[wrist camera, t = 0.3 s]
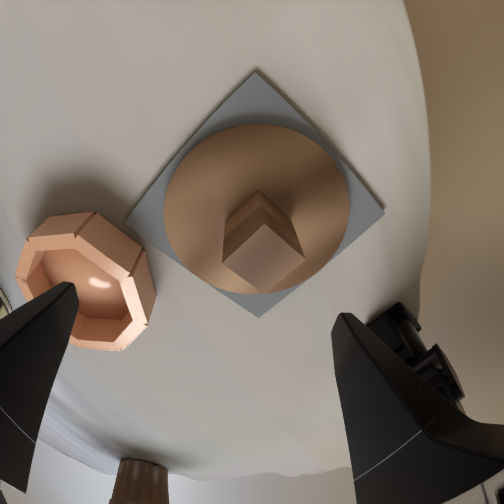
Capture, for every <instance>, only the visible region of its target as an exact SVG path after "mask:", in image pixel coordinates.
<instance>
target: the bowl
mask: <svg viewBox="0 0 504 504" xmlns="http://www.w3.org/2000/svg"><path fill="white" fill-rule="evenodd" d="M141 249H142V246H141V245H139V244H138V243H137V242H135V241H134V240H132V239H131V238H130V237H128V236H127V235H126V234H124V233H123V232H122V231H120V230H119V229H118V228H116V227H115V226H114V225H112V224H111V223H110V222H109V221H107V220H106V219H105V218H103V217H102V216H101V215H99V214H98V213H96V214H95V215H94V212H93V211H92V212H83V213H75V214H67V215H59V216H51V217H49V218H48V219H46V220H45V221H44V222H43V223H42V224H41V225H40V226H39V227H38V228H37V229H36V230H35V231H34V232H33V233H32V234H31V235H30V236H29V237H28V238H27V239H26V241H25V244H24V247H23V250H22V253H21V256H20V259H19V263H18V266H17V270H16V273H15V275H16V276H17V277H16V280H17V282H18V284H19V286H20V288H21V290H22V292H23V294H24V296H25V298H26V300H27V302H29V301H30V300H32V299H34V298H35V297H37V296H39V295H40V294H42V293H44V292H46V291H47V290H49V289H51V288H52V287H54V286H56V285H58V284H59V283H61V282H63V281H67V282H72V283H74V284H75V287H76V291H77V295H78V298H79V309H78V312H77V315H76V319H75V322H74V325H73V329H72V332H71V335H70V339H69V342H70V343H72V344H74V345H75V346H77V345H79V347H80V348H87V349H98V350H111V351H121V349H122V350H124V349H125V348H126V347H127V346H128V345H129V344H130V343H131V342H132V341H133V340H134V339H135V338H136V337H137V336H138V335H139V334H140V333H141V332H142V331H143V330H144V329H145V328H146V327H147V326H148V322H149V319H150V315H151V312H152V309H153V305H154V302H155V299H156V292H155V288H154V285H153V281H152V277H151V273H150V269H149V265H148V261H147V257H146V253H145V250H141Z"/></svg>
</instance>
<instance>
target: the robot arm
mask: <svg viewBox="0 0 504 504" xmlns="http://www.w3.org/2000/svg"><path fill="white" fill-rule="evenodd" d="M78 309H79V298H78V295H77V291H76V287H75V284H74V283H72V282H67V281H63V282H61V283H59V284H58V285H56V286H54V287H52V288H51V289H49V290H47V291H46V292H44V293H42V294H40V295H39V296H37V297H35V298H34V299H32V300H30V301H29V302H27V303H25V304H24V305H22V306H20V307H19V308H17V309H16V310H14V311H12V312H11V313H9V314H8V315H6V316H4V317H3V318H1V319H0V485H1V481H3V482H5V483H7V484H8V485H10V486H12V487H14V488H15V489H17V490H19V491H21V492H23V493H25V494H26V490H27V485H28V478H29V473H30V468H31V463H32V458H33V454H34V450H35V445H36V444H35V443H36V440H37V437H38V433H39V429H40V425H41V422H42V418H43V415H44V411H45V408H46V405H47V401H48V398H49V395H50V392H51V389H52V386H53V383H54V380H55V377H56V374H57V372H58V369H59V366H60V363H61V361H62V358H63V355H64V353H65V350H66V348H67V345H68V342H69V339H70V335H71V332H72V329H73V325H74V322H75V319H76V315H77V312H78ZM420 330H421V326H420V324H419V323H418V322H417V321H416V319H415V318H414V317H413V316H412V315H411V313H410V312H409V311H408V310H407V308H406V307H405V306H404V305H403V304H402V303H401V302H399V303H397V304H395V305H394V306H393V307H392V308H390V309H389V310H388V311H386V312H385V313H384V314H382V315H381V316H380V317H378V318H377V319H376V320H374V321H373V322H372V323H370V324H369V325H367V326H365V325H364V324H363V323H362V322H361V321H360V320H359V319H358V318H356V317H355V316H354V315H353V314H352V313H343V312H342V313H340V314H339V315H338V317H337V319H336V322H335V324H334V326H333V329H332V332H331V338H332V348H333V359H334V369H335V377H336V382H337V387H338V392H339V397H340V402H341V407H342V413H343V418H344V423H345V429H346V435H347V440H348V446H349V452H350V459H351V465H352V471H353V478H354V480H355V481H354V486H355V493H356V501H357V504H504V425H500V424H487V423H480V422H477V421H474V420H472V419H470V418H469V417H468V416H467V415H466V413H465V411H464V409H463V406H462V404H461V402H460V400H461V399H463V398H464V397H465V394H464V392H463V389H462V387H461V384H460V382H459V379H458V377H457V374H456V372H455V370H454V369H453V367H452V365H451V364H450V362H449V360H448V358H447V357H446V355H445V354H444V353H443V351H442V350H441V349H440V347H439V346H438V344H437V343H436V344H435V345H434V346H432V348H431V349H430V350H428V351H427V349H426V347H425V345H424V343H423V341H422V340H421V338H420V336H419V334H418V332H419V331H420ZM0 504H7V502H6V500H5V498H4V496H3V493H2V491H1V490H0Z"/></svg>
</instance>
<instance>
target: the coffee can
mask: <svg viewBox="0 0 504 504" xmlns="http://www.w3.org/2000/svg"><path fill="white" fill-rule="evenodd" d="M11 312H12V309H11V306H10V304H9V302H8V300H7V299H6V297H5V295H4V294H3V292H2V291H1V289H0V319H1V318H3V317H4V316H6V315H8V314H9V313H11Z"/></svg>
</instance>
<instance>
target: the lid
mask: <svg viewBox="0 0 504 504" xmlns="http://www.w3.org/2000/svg"><path fill="white" fill-rule="evenodd" d="M349 208H350V207H349V195H348V191H347V187H346V183H345V181H344V178H343V176H342V174H341V172H340V170H339V168H338V167H337V165H336V163H335V162H334V161H333V159H332V158H331V157H330V156H329V154H327V153H326V152H325V151H324V150H323V149H322V148H321V147H320V146H319V145H318V144H316V143H315V142H314V141H312V140H311V139H309V138H308V137H306V136H304V135H302V134H300V133H299V132H297V131H294V130H291V129H288V128H286V127H282V126H277V125H272V124H259V123H255V124H244V125H239V126H234V127H230V128H227V129H224V130H222V131H219V132H217V133H215V134H213V135H211V136H209V137H208V138H206V139H204V140H203V141H202V142H200V143H199V144H198V145H196V146H195V147H194V148H193V149H192V150H191V151H190V152H189V153H188V154H187V155H186V156H185V157H184V159H183V160H182V161H181V163H180V164H179V165H178V167H177V168H176V170H175V172H174V174H173V176H172V178H171V179H170V182H169V185H168V188H167V190H166V195H165V200H164V212H163V215H164V225H165V229H166V233H167V237H168V239H169V242H170V244H171V246H172V248H173V250H174V252H175V253H176V255H177V256H178V258H179V259H180V260H181V262H182V263H183V264H184V265H185V266H186V267H187V268H188V269H189V270H190V271H191V272H192V273H193V274H195V275H196V276H197V277H199V278H200V279H202V280H203V281H205V282H207V283H209V284H211V285H213V286H215V287H217V288H220V289H223V290H226V291H230V292H235V293H241V294H267V293H273V292H278V291H282V290H285V289H288V288H291V287H293V286H295V285H298V284H300V283H302V282H304V281H305V280H307V279H309V278H310V277H312V276H313V275H314V274H316V273H317V272H318V271H319V270H320V269H322V268H323V267H324V266H325V265H326V264H327V263H328V261H329V260H330V259H331V258H332V257H333V255H334V254H335V252H336V251H337V249H338V248H339V246H340V244H341V242H342V240H343V238H344V235H345V232H346V229H347V225H348V220H349Z"/></svg>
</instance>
